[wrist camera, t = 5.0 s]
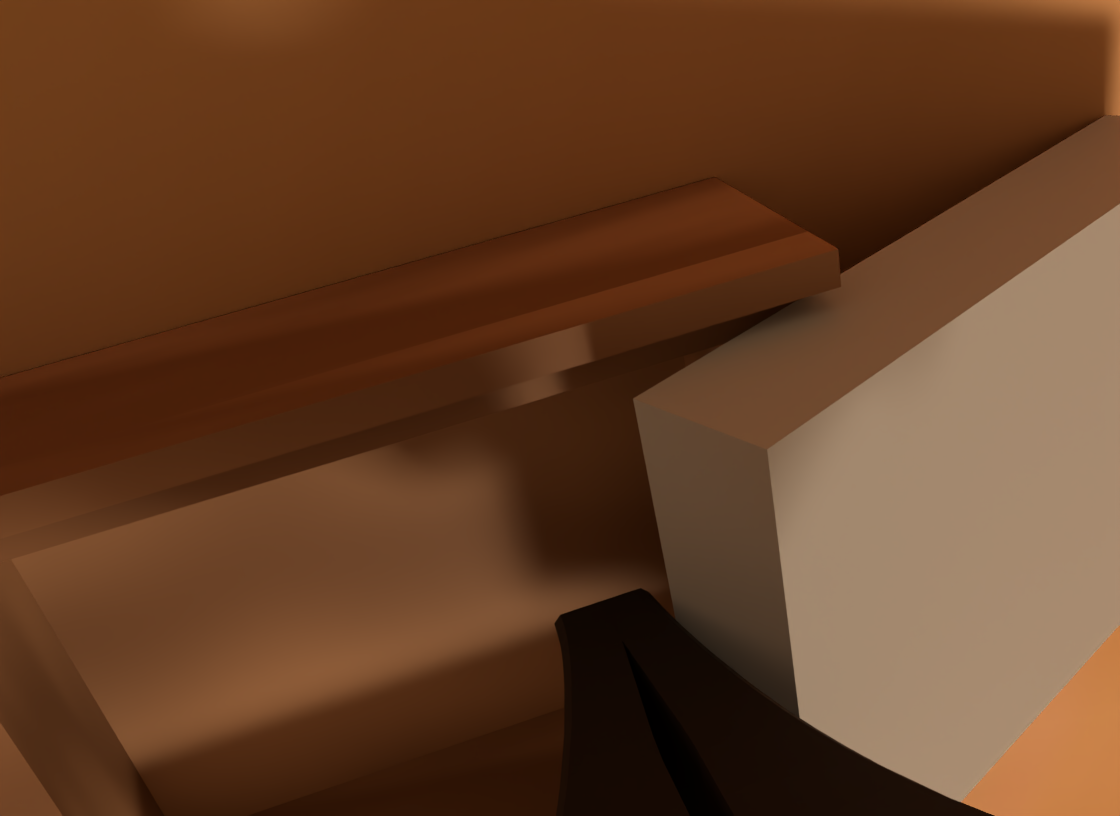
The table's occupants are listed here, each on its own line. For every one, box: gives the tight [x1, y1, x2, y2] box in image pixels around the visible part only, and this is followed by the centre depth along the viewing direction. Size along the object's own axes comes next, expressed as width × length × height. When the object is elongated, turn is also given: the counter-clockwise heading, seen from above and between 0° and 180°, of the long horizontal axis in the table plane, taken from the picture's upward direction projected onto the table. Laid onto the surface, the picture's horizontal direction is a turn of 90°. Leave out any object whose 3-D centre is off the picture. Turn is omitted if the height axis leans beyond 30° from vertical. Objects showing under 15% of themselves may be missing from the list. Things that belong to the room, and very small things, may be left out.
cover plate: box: [633, 115, 1120, 802], centre depth 15 cm, size 8×11×2 cm
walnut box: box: [0, 177, 841, 816], centre depth 15 cm, size 10×13×4 cm
